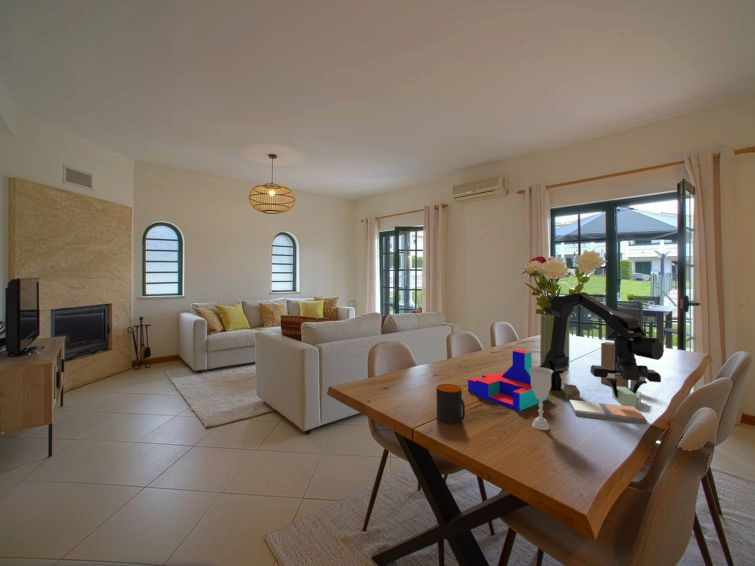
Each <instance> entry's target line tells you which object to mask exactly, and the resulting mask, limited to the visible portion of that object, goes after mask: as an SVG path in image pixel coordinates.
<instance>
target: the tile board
mask: <svg viewBox="0 0 755 566" xmlns="http://www.w3.org/2000/svg"><path fill="white" fill-rule="evenodd" d="M568 403H569V406H570V408H571V409H572V411H573V413H574V415H575V416H577V417H584V418H591V419H592V418H594V419H601V420H608V421H609V420H610V421H616V422H617V421H618V422H625V423H627V422H628V423H634V424H641V425H642V424H643V425H647V424H648V420H647V418H646V417H645V416H644V415H643V414H642V413H641V412H640V411H639V409H638V408H635V407H632V406H622V405H621V404H613V403H606V402H605V403H604V402H603V403H601V402H594V401H585V400H584V401H583V400H580V401H577V400H569V401H568Z"/></svg>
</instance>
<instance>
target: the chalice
mask: <svg viewBox="0 0 755 566" xmlns="http://www.w3.org/2000/svg"><path fill="white" fill-rule="evenodd" d="M529 370H530V372H531V386H532V389H533V392H534V394H535V396H536V398H537V399H539V403H538V410H537V412H538V416H537V417H535V418H534V420H533V422H532V423H531V424H532V428H534V429H537V430H539V431H540V430H541V431H548V430H550V425H549V423H548V421H547V419H546V418H544V417H543V414H544V412H545V411H544V409H543V407H544V403H543V402H544V401H543V400H544V399H546V397H547V395H548V396H549V394H550V392H551V390H552V389H551V374H552V373H553V371H552V370H551V369H548V368H542V367H540V366H532V368H530V369H529ZM542 401H543V402H542Z"/></svg>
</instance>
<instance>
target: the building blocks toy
mask: <svg viewBox="0 0 755 566" xmlns="http://www.w3.org/2000/svg"><path fill="white" fill-rule="evenodd" d="M532 367H533V366H532V351H531V350H525V349H515V350H512V365H511V366H510V367H509V368H508V369H507V370H506V371H502V372H498V373H495V374H492V373H486V374H482V375H481V376H482V377H481V378H479V377H475V376H474V377H472V378H468V379H467V391H469V390H470V391H469V392H472V391H473V392H472V393H475V392H476V393H475V396H476V395H477V396H476V397H479V396H480V397H479V398H481V397H482V399H484V398H485V400H487V399H488V401H490V400H491V401H490V402H493V401H494V402H493V403H496V402H497V403H496V404H498V403H499V404H498V405H501V404H502V405H501V406H504V407H507V408H510V409H513V410H515V411H519V412H520V411H523V410H525V409H528V408H530V407H533V406H535V405H537V404H539V399H537V398H536V396H535V394H534V392H533V389H532V386H531V372H530V370H529V369H530V368H532ZM548 396H549V394H548V395H547V397H546V399H544V400H543V401H542V403H543V402H546V401H547V400H548Z"/></svg>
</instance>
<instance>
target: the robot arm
mask: <svg viewBox="0 0 755 566" xmlns="http://www.w3.org/2000/svg"><path fill="white" fill-rule="evenodd" d="M579 305H580V306H581V307H582V308H585V309H587V310H588V311H589V312H591V313H592V314H593V315H595V316H597V317H598V318H600V319H602V320H603V321H604V322H605V324H606V326H607V327H608V328H609V329H611V331H612V332H611V333H610V334H608V335H607V338H609V339H613V343H614V354H613V356H614V365H613V368H614V370H613V369H606V368H605V367H604V366H601V365H596V364H592V365H591V366H590V373H591V375H592V376H594V377H595V378H601V377H603V378H605V379H606V380H608V382H609V383H610V385H609V386H610V388H611V392H612V391H613V393H614V396H615V397H616V398H617V385H616V383H617V379H616V378H615V375H618V376H622V379H624V380H628V381H630V385H629V388H630V389H629V390H630V391H632V392H633V393H635V394H636V392H638V390H639V389H640V387H641V386H642V385H644V384H647V383H648V382H650V383H661V382H662V376H661V374H660V373H659V372H657V371H655V370H654V369H649V367H648V366H647V365H640V364H639V365H637V364H638V363H637V358H636V356H638V357H641V358H645V359H646V358H647V359H652V360H656V361H658V360H661V359H662V357H663V356H664V351H665V348H664V346H663V344H662V342H660V338H659V337H650V336H647V334H646V333H645V331H644V329H642V327H641V326H640V325H639V320H638V319H637V318H635V316H633V315H630V314H628V313H625V312H620V311H617V310H614V309H612V308H611V307H609V306H608V305H605V304H604V303H602V302H601V301H599V300H598V299H596V298H594V297H592V296H591V295H589V294H588V293H587V292H584V291H583V292H580V291H579V292H574V293H571V294H566V295H555V296H553V297H552V298H551V300H550V311H551V312H552V315H553V324H552V332H551V338H550V339H551V340H550V349H549V350H548V352H547V353H546V354H545V356H544V360H543V363H542V364H540V366H539V367H542V368H548V369H551V370H552V371H553V373H552V374H551V389H550V390H553V391H561V390H562V389H561V388H562V377H561V375H560V374H564V372H565V369H567V367H568V366H569V363H568V362H569V359H570V358H569V356H567V355H566V353H565V351H564V350H565V341H566V334H567V326H568V319H569V317H570V316H571V314H572V313H573V312H574V308H575V306H579Z"/></svg>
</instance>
